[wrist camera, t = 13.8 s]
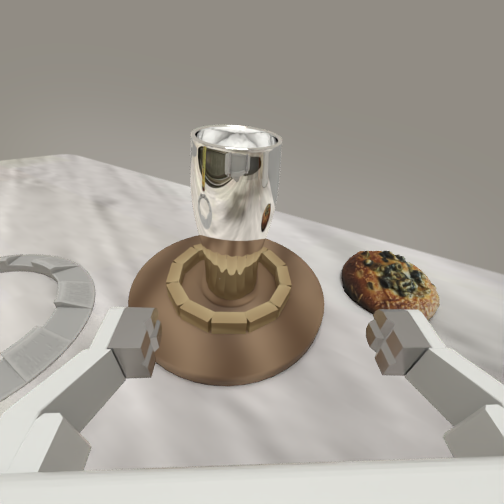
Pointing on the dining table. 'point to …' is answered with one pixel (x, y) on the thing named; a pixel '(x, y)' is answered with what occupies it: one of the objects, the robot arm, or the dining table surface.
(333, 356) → the dining table surface
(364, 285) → the bread roll
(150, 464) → the dining table surface
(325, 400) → the dining table surface
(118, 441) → the dining table surface
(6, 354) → the ring
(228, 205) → the beer glass
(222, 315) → the round tray
